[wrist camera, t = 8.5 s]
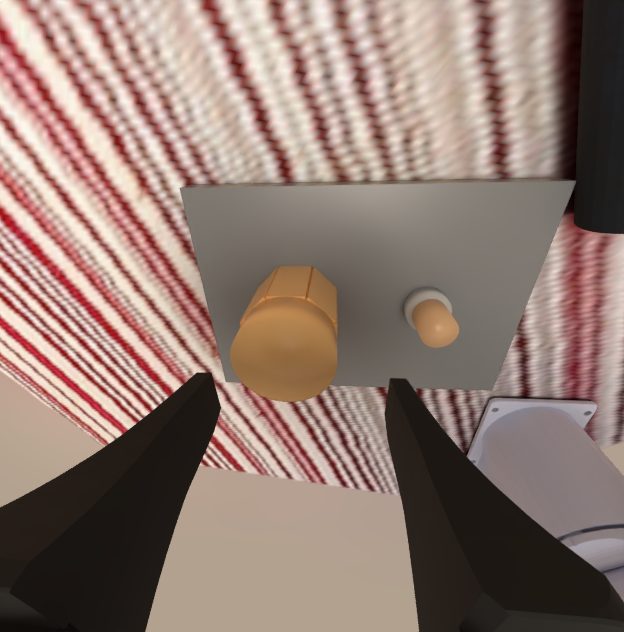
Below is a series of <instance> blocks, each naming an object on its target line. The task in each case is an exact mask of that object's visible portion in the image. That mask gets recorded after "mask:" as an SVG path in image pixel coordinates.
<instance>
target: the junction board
mask: <svg viewBox="0 0 624 632" xmlns="http://www.w3.org/2000/svg"><path fill="white" fill-rule="evenodd" d="M575 184H576V181H575V180H568V179H562V178H512V179H461V180H409V181H357V182H306V183H254V184H202V185H189V186H185V187H182V188H180V192H181V196H182V200H183V204H184V208H185V213H186V217H187V221H188V225H189V229H190V234H191V238H192V242H193V246H194V250H195V254H196V259H197V263H198V267H199V271H200V275H201V280H202V284H203V288H204V292H205V296H206V301H207V305H208V309H209V313H210V317H211V321H212V326H213V330H214V334H215V338H216V342H217V347H218V351H219V355H220V359H221V363H222V368H223V372H224V376H225V380H226V382H241V381H240V379H239V378H238V377H237V375H236V374H235V372H234V370H233V368H232V364H231V360H230V351H231V346H232V343H233V341H234V339H235V337H236V335H237V333H238V331H239V329H240V322H241V319H242V317H243V315H244V313H245V311H246V309H247V308H248V306H249V304H250V302H251V300H252V298H253V296H254V295H255V293H256V291H257V289H258V287H259V286H260V285H261V284H262V283H263V282H264V281H265V280H266V279H267V278H268V277H269V276H270V275H271V273H272V272H273V271H274V270H275V269H276V268H277V267H278V268H279V267H280V266H311V268H313V267H315V268H316V269H317V270H318V271H319V272H320V273H321V274H322V275H323V276H324V277H325V278H326V279H328V280H329V281H330V282H331V283H332V284H333V285H334V286H335V287H336V290H337V371H336V375H335V377H334V379H333V381H332V383H331V384H330V385H336V386H367V387H389V381H390V378H406V379H407V380H408V381H409V383H410V384H411V386H412V387H413V388H429V389H460V390H491V391H492V389H493V387H494V384H495V382H496V379H497V377H498V374H499V372H500V369H501V367H502V365H503V362H504V360H505V357H506V355H507V352H508V350H509V347H510V345H511V342H512V340H513V337H514V335H515V332H516V330H517V327H518V325H519V322H520V320H521V317H522V315H523V312H524V310H525V308H526V305H527V303H528V300H529V298H530V295H531V293H532V290H533V288H534V285H535V283H536V280H537V278H538V275H539V273H540V270H541V268H542V265H543V263H544V260H545V258H546V255H547V253H548V251H549V248H550V246H551V243H552V241H553V238H554V236H555V233H556V231H557V228H558V226H559V223H560V221H561V218H562V216H563V213H564V211H565V208H566V206H567V203H568V201H569V198H570V196H571V194H572V191H573V189H574V186H575Z"/></svg>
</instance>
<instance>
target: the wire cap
mask: <svg viewBox="0 0 624 632" xmlns="http://www.w3.org/2000/svg"><path fill="white" fill-rule="evenodd" d="M230 360H231V364H232V368H233V370H234V372H235V374H236V375H237V377H238V378H239V379H240V381H241V382H242V383H243V384H244V385H245V386H246V387H248V388H249V389H250V390H252V391H253V392H255V393H257V394H259V395H261V396H263V397H266V398H268V399H272V400H276V401H283V402H296V401H302V400H307V399H310V398H312V397H315V396H317V395H319V394H320V393H322V392H323V391H324V390H326V389H327V388H328V386H329V385H330V384H331V383H332V381H333V379H334V377H335V375H336V371H337V290H336V287H335V286H334V285H333V284H332V283H331V282H330V281H329V280H328V279H326V278H325V277H324V276H323V275H322V274H321V273H320V272H319V271H318V270H317V269H316V268H315V267H313V268H311V266H280V267H279V268H278V267H277V268H276V269H275V270H274V271H273V272H272V273H271V275H270V276H269V277H268V278H267V279H266V280H265V281H264V282H263V283H262V284H261V285H260V286H259V287H258V289H257V291H256V293H255V295H254V296H253V298H252V300H251V302H250V304H249V306H248V308H247V309H246V311H245V313H244V315H243V317H242V319H241V322H240V329H239V331H238V333H237V335H236V337H235V339H234V341H233V343H232V346H231V351H230Z"/></svg>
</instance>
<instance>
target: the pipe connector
mask: <svg viewBox="0 0 624 632" xmlns="http://www.w3.org/2000/svg"><path fill="white" fill-rule="evenodd" d="M575 181H576V184H575V202H574V223H575V225H576V226H578V227H580V228H582V229H584V230H588V231H592V232H599V233H611V234H624V0H584V5H583V26H582V48H581V70H580V92H579V114H578V136H577V158H576V180H575Z"/></svg>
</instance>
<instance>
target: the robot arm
mask: <svg viewBox="0 0 624 632" xmlns="http://www.w3.org/2000/svg"><path fill="white" fill-rule="evenodd" d="M220 410H221V406H220V403H219V399H218V395H217V392H216V388H215V384H214V381H213V377H212V373H196V374H195V375H194V376H193V377H191V378H190V379H189V380H188V381H187V382H186V383H184V384H183V385H182V386H181V387H180V388H179V389H178V390H176V391H175V392H174V393H173V394H172V395H171V396H170V397H168V398H167V399H166V400H165V401H164V402H163V403H161V404H160V405H159V406H158V407H157V408H156V409H154V410H153V411H152V412H151V413H149V414H148V415H147V416H146V417H144V418H143V419H142V420H141V421H139V422H138V423H137V424H136V425H134V426H133V427H132V428H130V429H129V430H128V431H127V432H125V433H124V434H123V435H121V436H120V437H118V438H117V439H116V440H114V441H113V442H111V443H110V444H108V445H107V446H105V447H104V448H103V449H101V450H100V451H98V452H97V453H95V454H94V455H92V456H90V457H89V458H87V459H86V460H84V461H83V462H81V463H79V464H78V465H76V466H75V467H73V468H71V469H69V470H68V471H66V472H65V473H63V474H61V475H60V476H58V477H56V478H55V479H53V480H51V481H49V482H47V483H46V484H44V485H42V486H40V487H39V488H37V489H35V490H33V491H31V492H29V493H28V494H26V495H24V496H22V497H20V498H18V499H16V500H14V501H12V502H10V503H8V504H6V505H4V506H3V507H0V632H145V630H146V626H147V623H148V619H149V615H150V611H151V608H152V603H153V600H154V596H155V592H156V589H157V585H158V582H159V578H160V575H161V571H162V568H163V564H164V561H165V558H166V554H167V551H168V548H169V545H170V541H171V539H172V535H173V532H174V529H175V526H176V523H177V520H178V517H179V514H180V511H181V508H182V505H183V502H184V500H185V497H186V494H187V492H188V489H189V487H190V485H191V482H192V480H193V478H194V476H195V473H196V471H197V469H198V467H199V464H200V462H201V460H202V458H203V456H204V453H205V451H206V449H207V446H208V444H209V442H210V440H211V437H212V435H213V433H214V430H215V427H216V423H217V420H218V417H219V413H220ZM596 410H597V405H596V404H595V403H594V402H593V401H574V400H544V399H515V398H493V399H491V400H490V401H489V403H488V405H487V407H486V410H485V412H484V415H483V417H482V420H481V422H480V425H479V427H478V430H477V432H476V434H475V437H474V439H473V442H472V444H471V447H470V449H469V452H468V454H467V456H466V455H465V454H464V453H463V452H462V451H461V450H460V449H459V448H458V446H457V445H456V444H455V443H454V442H453V441H452V439H451V438H450V437H449V436H448V435H447V433H446V432H445V431H444V430H443V428H442V427H441V426H440V425H439V423H438V422H437V421H436V420H435V418H434V417H433V416H432V414H431V413H430V412H429V410H428V409H427V408H426V406H425V405H424V403H423V402H422V401H421V399H420V398H419V396H418V395H417V393H416V392H415V390H414V389H413V387H412V386H411V384H410V383H409V381H408V380H407V379H406V378H390V381H389V388H388V395H387V402H386V409H385V421H386V430H387V438H388V443H389V447H390V452H391V456H392V461H393V465H394V469H395V473H396V478H397V482H398V486H399V491H400V495H401V499H402V504H403V510H404V515H405V522H406V529H407V536H408V543H409V550H410V558H411V566H412V573H413V582H414V590H415V598H416V607H417V615H418V624H419V632H624V476H623V475H622V474H621V473H620V471H619V470H618V469H617V468H616V467H615V466H614V464H613V463H612V462H611V461H610V460H609V459H608V457H607V456H606V455H605V454H604V453H603V452H602V451H601V449H600V448H599V447H598V446H597V445H596V444H595V442H594V441H593V440H592V439H591V438H590V437H589V436H588V434H587V433H586V432H585V431H584V430H583V428H584V427H585V426H586V424H587V423H588V421H589V420H590V418H591V417H592V415H593V414H594V413H595V411H596Z"/></svg>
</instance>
